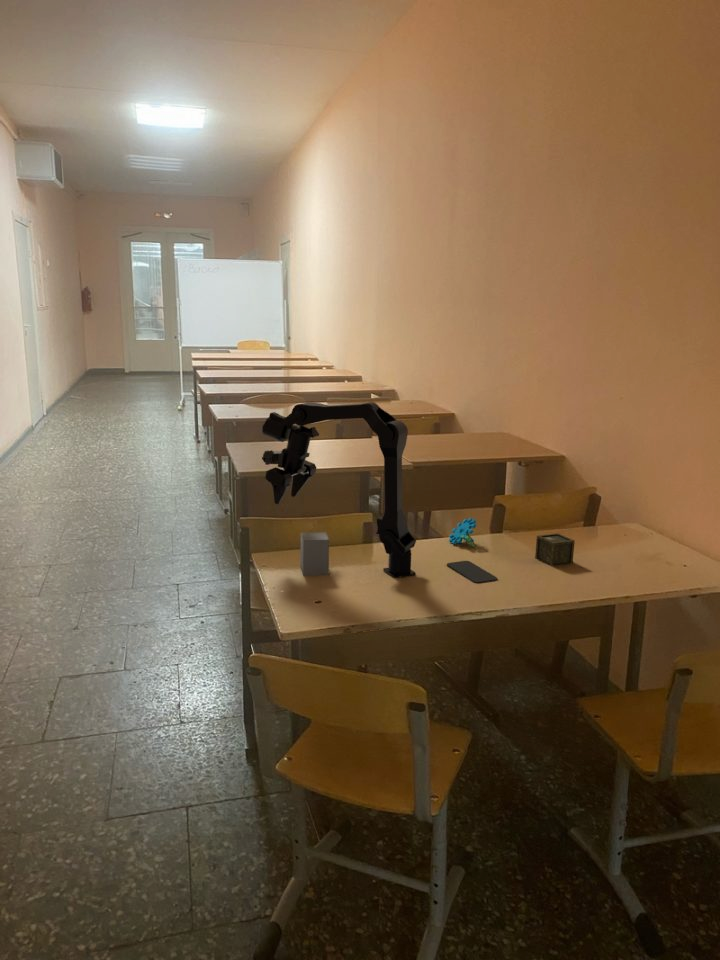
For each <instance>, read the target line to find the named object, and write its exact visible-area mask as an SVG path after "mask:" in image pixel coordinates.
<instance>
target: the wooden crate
mask: <svg viewBox="0 0 720 960" xmlns="http://www.w3.org/2000/svg"><path fill="white" fill-rule="evenodd" d="M574 550H575V540H574V539H572V538H570V537H567V536H565V535H562V534H560V533H548V534H541V535H536V543H535V554H534V558H535V559H536V560H538V561H540V562H542V563H543V564H545V565H548V566H549V567H557V566H565V565H572V564H573V563H574V553H575V551H574Z"/></svg>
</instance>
